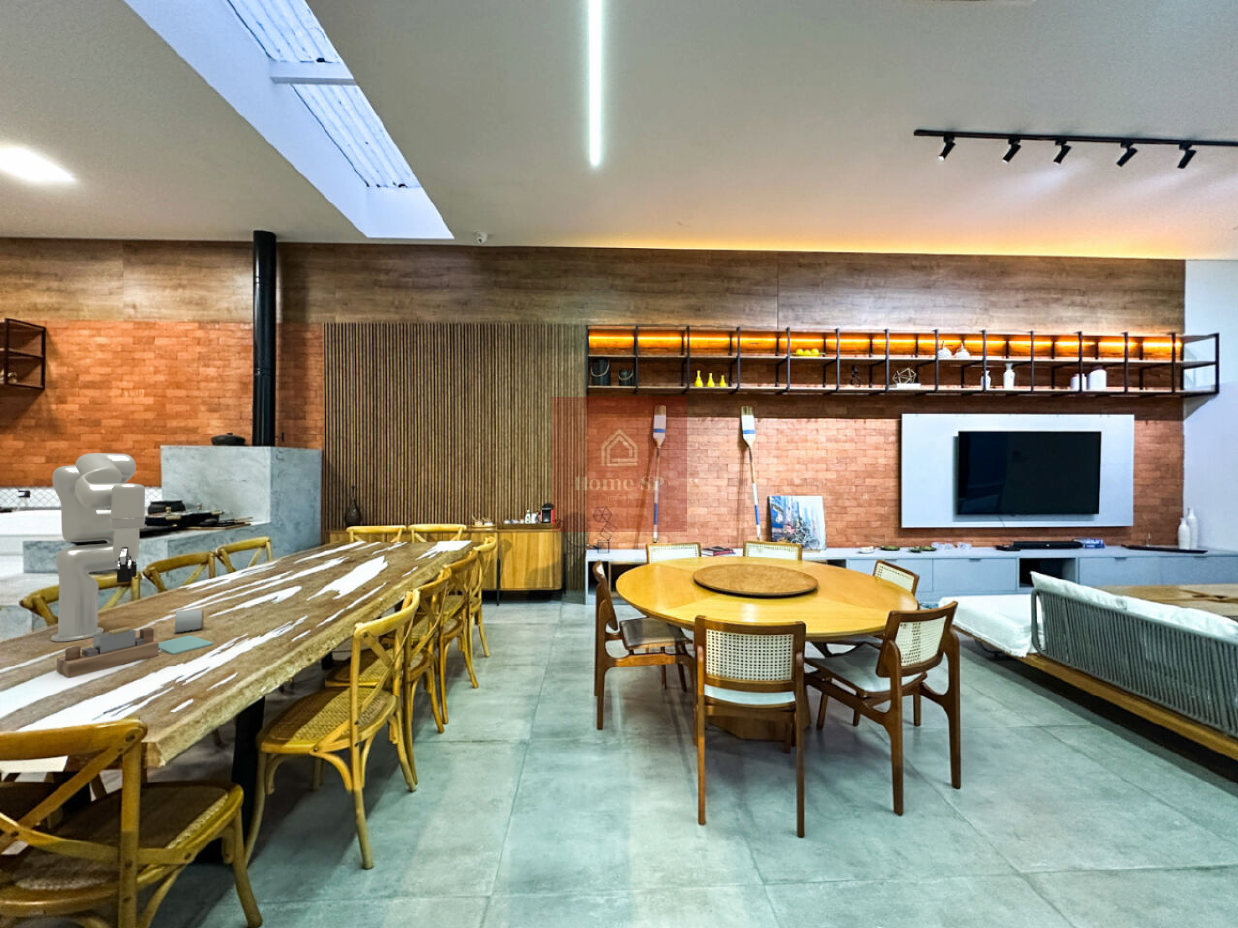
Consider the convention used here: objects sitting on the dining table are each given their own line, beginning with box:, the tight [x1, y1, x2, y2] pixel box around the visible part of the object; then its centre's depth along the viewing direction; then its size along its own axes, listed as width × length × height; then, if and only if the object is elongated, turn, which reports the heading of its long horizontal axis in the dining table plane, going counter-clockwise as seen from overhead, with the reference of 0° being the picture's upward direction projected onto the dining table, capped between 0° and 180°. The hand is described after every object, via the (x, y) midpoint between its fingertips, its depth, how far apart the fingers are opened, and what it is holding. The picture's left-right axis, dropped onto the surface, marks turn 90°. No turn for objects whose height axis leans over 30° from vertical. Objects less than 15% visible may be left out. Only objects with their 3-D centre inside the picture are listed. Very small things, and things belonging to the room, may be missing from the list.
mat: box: [158, 635, 214, 656], centre depth 170 cm, size 16×11×1 cm
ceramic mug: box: [174, 609, 205, 634], centre depth 187 cm, size 11×8×8 cm
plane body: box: [56, 627, 159, 679], centre depth 154 cm, size 9×20×8 cm, turn 153°
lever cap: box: [92, 626, 136, 655], centre depth 155 cm, size 5×8×6 cm, turn 153°
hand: (127, 579), depth 156 cm, fingers open, 9 cm apart
